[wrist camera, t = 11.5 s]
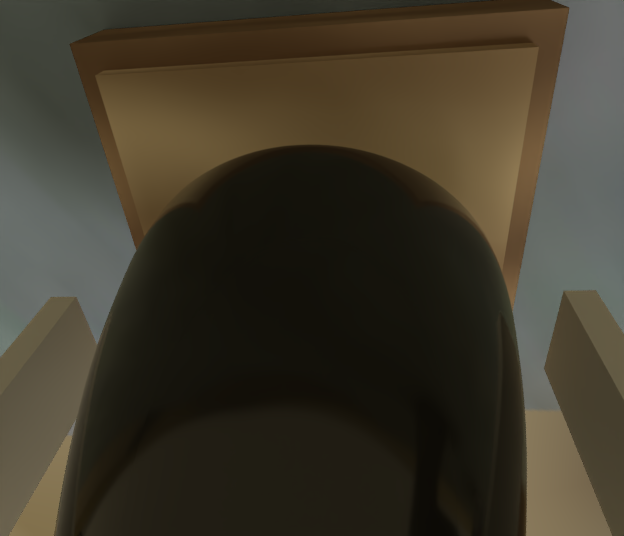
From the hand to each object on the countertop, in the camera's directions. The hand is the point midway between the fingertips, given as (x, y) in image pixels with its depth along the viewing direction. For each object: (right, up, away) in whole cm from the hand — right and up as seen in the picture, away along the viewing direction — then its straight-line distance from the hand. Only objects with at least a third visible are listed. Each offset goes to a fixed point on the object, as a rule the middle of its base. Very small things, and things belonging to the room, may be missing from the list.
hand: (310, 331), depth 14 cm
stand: (+1, +4, +6) cm, 7 cm away
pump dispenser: (+1, +2, +4) cm, 4 cm away
